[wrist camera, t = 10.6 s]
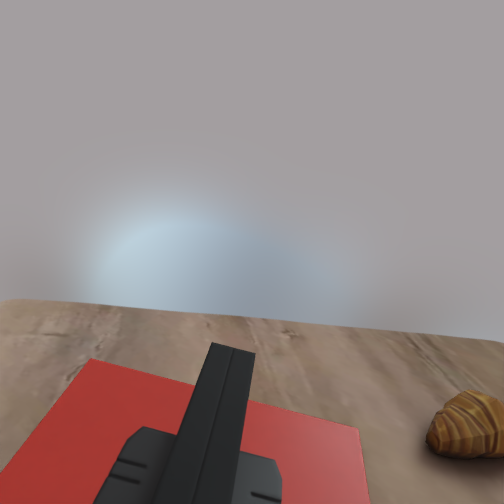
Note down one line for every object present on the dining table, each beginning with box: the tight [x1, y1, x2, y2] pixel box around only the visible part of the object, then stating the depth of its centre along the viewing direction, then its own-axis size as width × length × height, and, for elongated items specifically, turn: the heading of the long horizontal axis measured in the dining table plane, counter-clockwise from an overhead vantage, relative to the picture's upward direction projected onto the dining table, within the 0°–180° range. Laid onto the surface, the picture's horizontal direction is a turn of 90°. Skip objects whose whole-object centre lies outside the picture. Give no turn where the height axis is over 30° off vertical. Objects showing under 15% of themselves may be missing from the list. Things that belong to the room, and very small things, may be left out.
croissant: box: [425, 390, 504, 459], centre depth 36 cm, size 14×7×5 cm, turn 113°
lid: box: [0, 358, 370, 504], centre depth 16 cm, size 11×15×1 cm
